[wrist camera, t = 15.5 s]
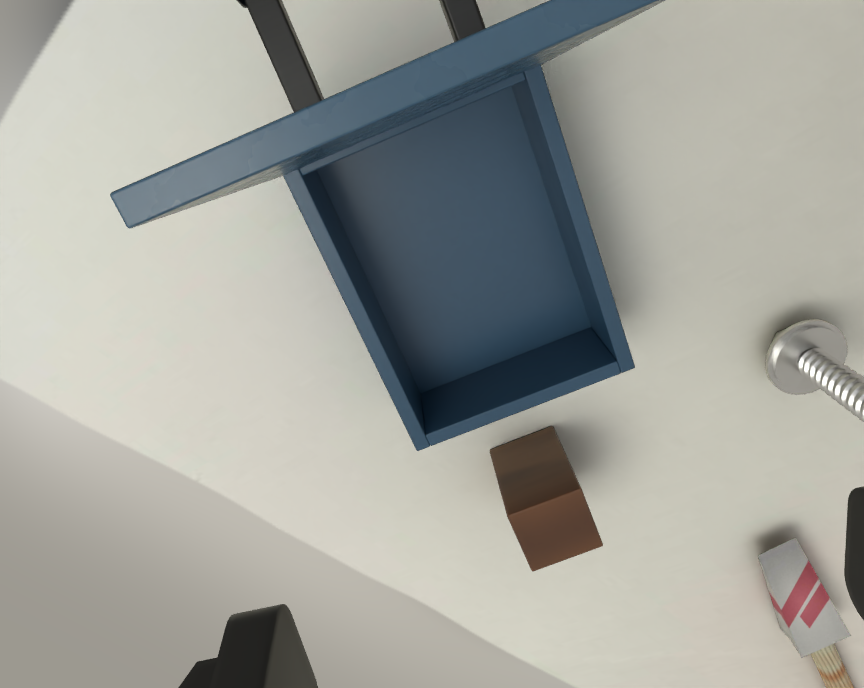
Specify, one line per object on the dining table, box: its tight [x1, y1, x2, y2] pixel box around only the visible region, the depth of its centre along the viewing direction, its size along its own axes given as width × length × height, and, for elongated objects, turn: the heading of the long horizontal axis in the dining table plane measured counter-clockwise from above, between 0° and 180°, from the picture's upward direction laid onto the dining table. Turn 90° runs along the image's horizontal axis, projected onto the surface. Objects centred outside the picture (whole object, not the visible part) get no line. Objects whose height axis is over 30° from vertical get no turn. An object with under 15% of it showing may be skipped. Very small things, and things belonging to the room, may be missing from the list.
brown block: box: [490, 426, 603, 571], centre depth 42 cm, size 4×4×7 cm
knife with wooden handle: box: [758, 538, 854, 688], centre depth 52 cm, size 4×3×20 cm
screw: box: [765, 319, 864, 422], centre depth 37 cm, size 13×5×5 cm
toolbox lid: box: [110, 0, 665, 228], centre depth 22 cm, size 18×13×5 cm
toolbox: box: [283, 65, 635, 451], centre depth 37 cm, size 17×13×6 cm
